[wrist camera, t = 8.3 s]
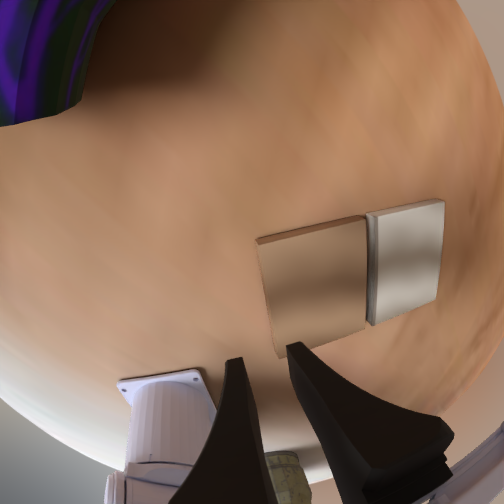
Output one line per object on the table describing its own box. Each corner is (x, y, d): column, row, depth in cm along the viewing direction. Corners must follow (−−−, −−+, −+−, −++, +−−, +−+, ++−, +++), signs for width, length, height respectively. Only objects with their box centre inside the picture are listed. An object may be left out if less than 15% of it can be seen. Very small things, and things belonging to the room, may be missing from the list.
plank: (358, 321, 24) (364, 329, 23) (274, 350, 23) (278, 359, 22) (357, 215, 20) (365, 219, 19) (254, 239, 19) (258, 245, 18)
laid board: (428, 293, 25) (435, 299, 24) (365, 319, 24) (372, 326, 23) (435, 198, 21) (444, 201, 20) (366, 213, 20) (374, 217, 19)
